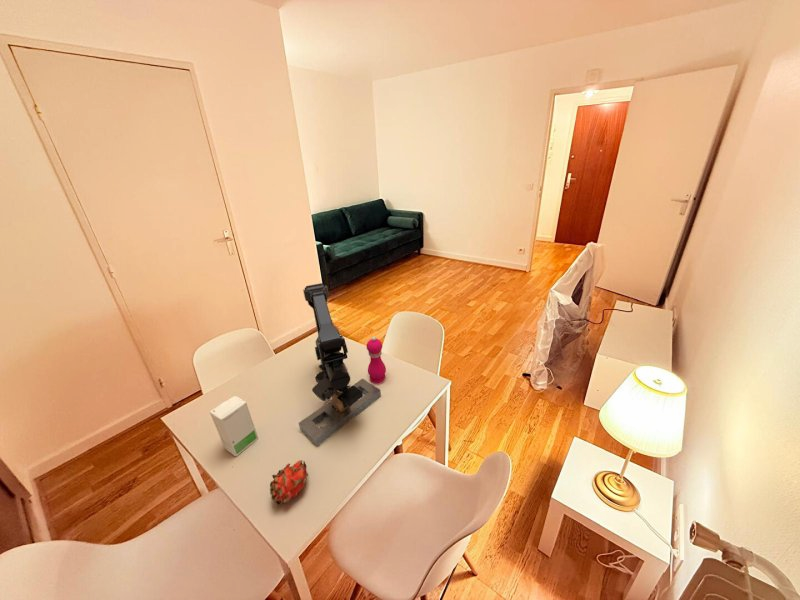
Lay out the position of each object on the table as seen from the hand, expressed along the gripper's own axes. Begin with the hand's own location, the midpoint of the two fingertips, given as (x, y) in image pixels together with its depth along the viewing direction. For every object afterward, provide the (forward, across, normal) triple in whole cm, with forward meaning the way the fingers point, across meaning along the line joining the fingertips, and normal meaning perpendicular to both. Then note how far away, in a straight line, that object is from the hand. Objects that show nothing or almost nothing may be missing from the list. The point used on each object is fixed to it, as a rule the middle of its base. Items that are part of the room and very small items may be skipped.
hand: (341, 404), depth 104 cm
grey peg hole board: (+4, 0, 0) cm, 4 cm away
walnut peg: (+2, 0, 0) cm, 2 cm away
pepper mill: (+4, -3, +20) cm, 21 cm away
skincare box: (+4, -15, -29) cm, 33 cm away
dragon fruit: (+4, +11, -26) cm, 28 cm away
